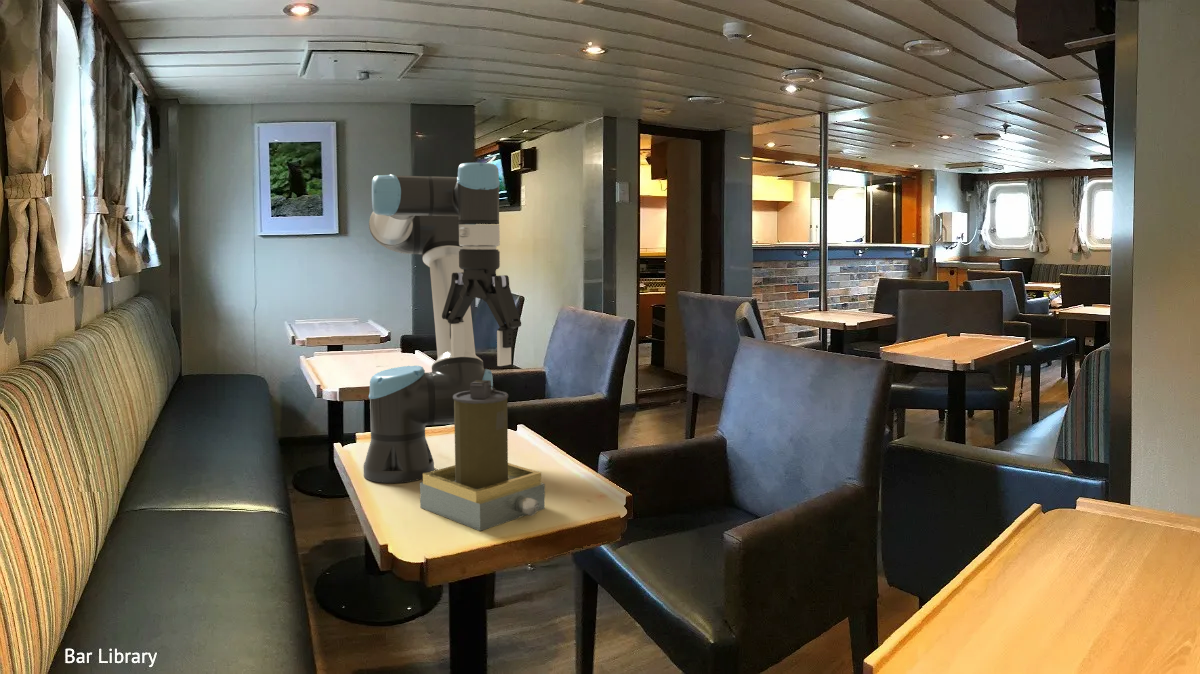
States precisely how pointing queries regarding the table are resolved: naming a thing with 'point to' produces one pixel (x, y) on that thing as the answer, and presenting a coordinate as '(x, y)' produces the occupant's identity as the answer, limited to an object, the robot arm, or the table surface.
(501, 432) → the canister
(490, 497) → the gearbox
